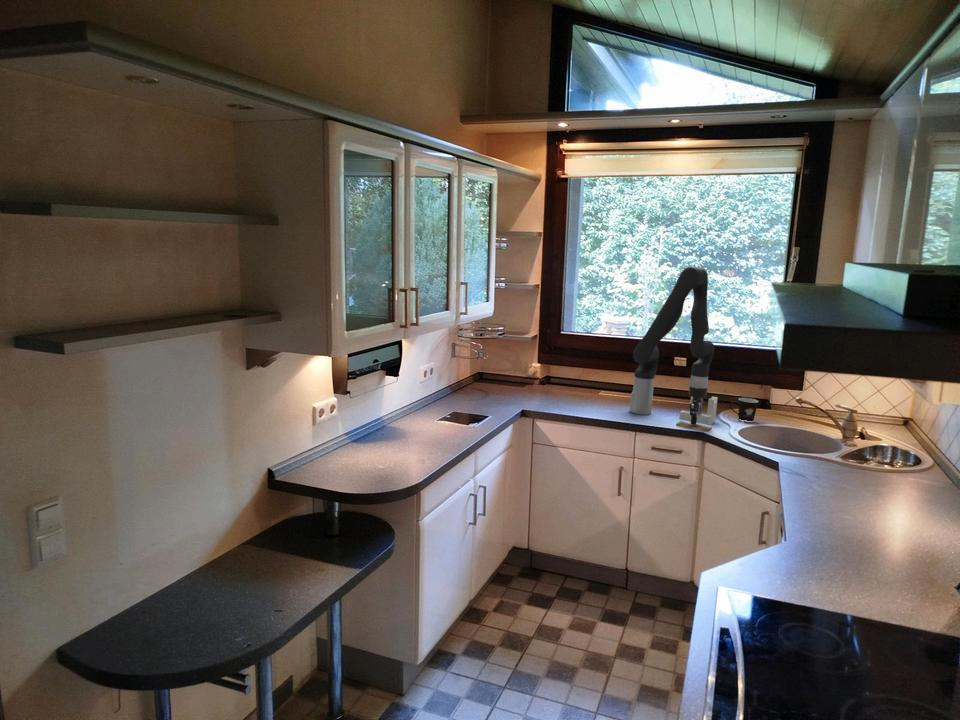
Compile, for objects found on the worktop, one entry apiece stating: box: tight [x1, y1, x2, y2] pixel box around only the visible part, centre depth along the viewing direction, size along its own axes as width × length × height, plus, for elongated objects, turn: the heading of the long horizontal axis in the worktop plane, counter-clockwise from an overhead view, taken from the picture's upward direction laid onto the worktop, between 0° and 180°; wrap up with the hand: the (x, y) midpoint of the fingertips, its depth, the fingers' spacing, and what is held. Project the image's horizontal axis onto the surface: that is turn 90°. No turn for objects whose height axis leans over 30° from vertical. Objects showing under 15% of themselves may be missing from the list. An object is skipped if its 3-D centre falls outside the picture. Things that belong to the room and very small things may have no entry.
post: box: [706, 396, 719, 425], centre depth 302 cm, size 2×6×12 cm, turn 147°
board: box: [675, 420, 712, 433], centre depth 294 cm, size 14×6×1 cm, turn 57°
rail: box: [678, 410, 712, 426], centre depth 293 cm, size 13×4×4 cm, turn 57°
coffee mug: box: [729, 397, 759, 422], centre depth 308 cm, size 12×9×10 cm
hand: (694, 423), depth 294 cm, fingers closed on rail, 3 cm apart
